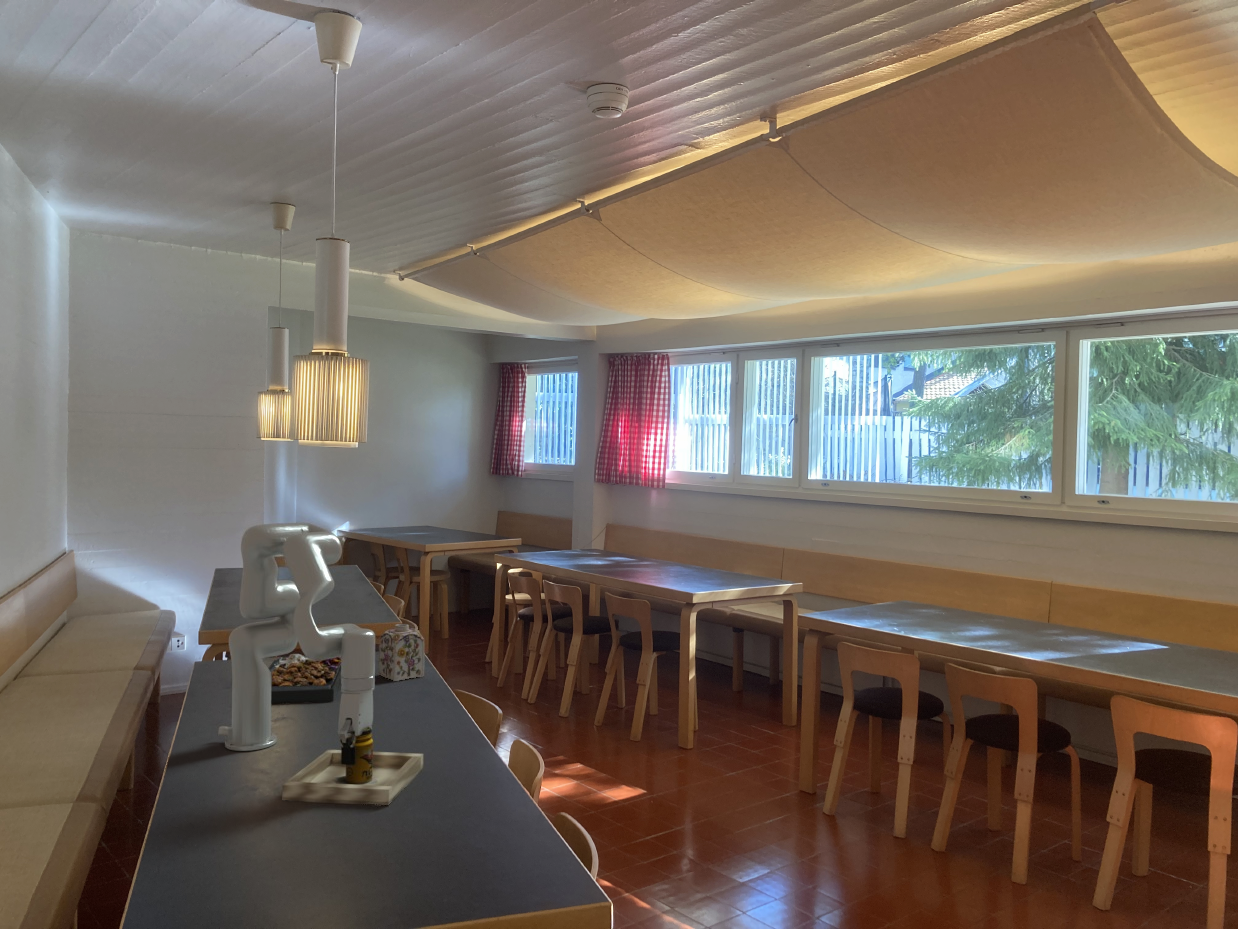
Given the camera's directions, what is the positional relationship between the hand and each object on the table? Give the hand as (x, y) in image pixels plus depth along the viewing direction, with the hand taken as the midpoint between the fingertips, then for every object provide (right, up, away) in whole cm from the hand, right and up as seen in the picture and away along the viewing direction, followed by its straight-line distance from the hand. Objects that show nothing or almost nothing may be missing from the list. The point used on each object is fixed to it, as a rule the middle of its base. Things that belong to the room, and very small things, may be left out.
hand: (356, 757), depth 205 cm
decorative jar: (-15, -6, +103) cm, 104 cm away
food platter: (-45, -6, +89) cm, 100 cm away
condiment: (0, -6, 0) cm, 6 cm away
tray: (0, -6, 0) cm, 6 cm away
